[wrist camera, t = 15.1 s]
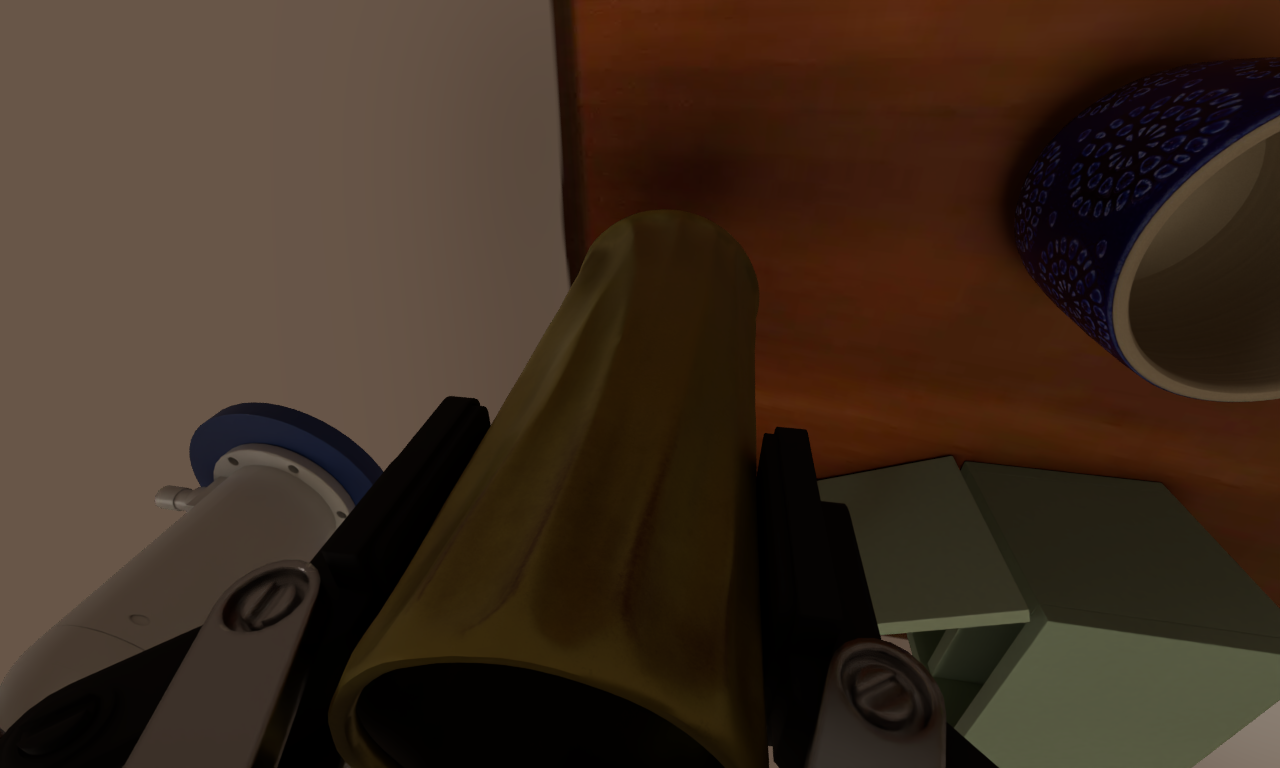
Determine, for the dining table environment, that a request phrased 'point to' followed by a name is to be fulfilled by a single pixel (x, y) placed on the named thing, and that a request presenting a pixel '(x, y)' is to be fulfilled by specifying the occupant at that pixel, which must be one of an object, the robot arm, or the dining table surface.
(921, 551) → the cupboard door
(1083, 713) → the cupboard
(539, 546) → the vase
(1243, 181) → the planter
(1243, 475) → the dining table surface
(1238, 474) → the dining table surface
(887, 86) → the dining table surface
